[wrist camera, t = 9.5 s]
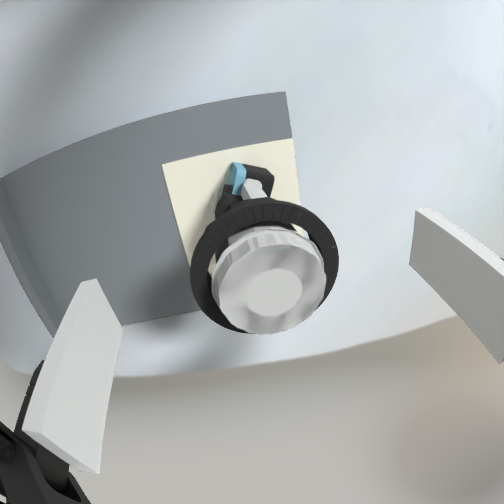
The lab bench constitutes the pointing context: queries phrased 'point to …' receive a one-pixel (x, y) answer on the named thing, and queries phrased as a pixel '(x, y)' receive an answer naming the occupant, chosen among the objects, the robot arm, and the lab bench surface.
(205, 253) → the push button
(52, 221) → the grey lipped board
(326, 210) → the lab bench surface
